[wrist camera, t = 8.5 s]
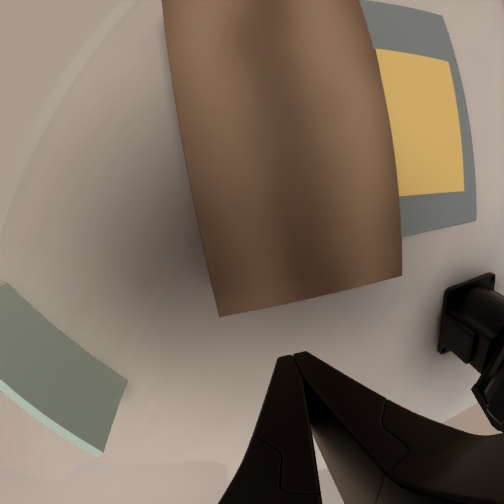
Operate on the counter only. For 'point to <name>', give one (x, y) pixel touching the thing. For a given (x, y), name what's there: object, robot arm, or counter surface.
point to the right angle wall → (55, 376)
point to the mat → (439, 47)
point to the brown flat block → (285, 147)
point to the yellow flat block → (422, 122)
